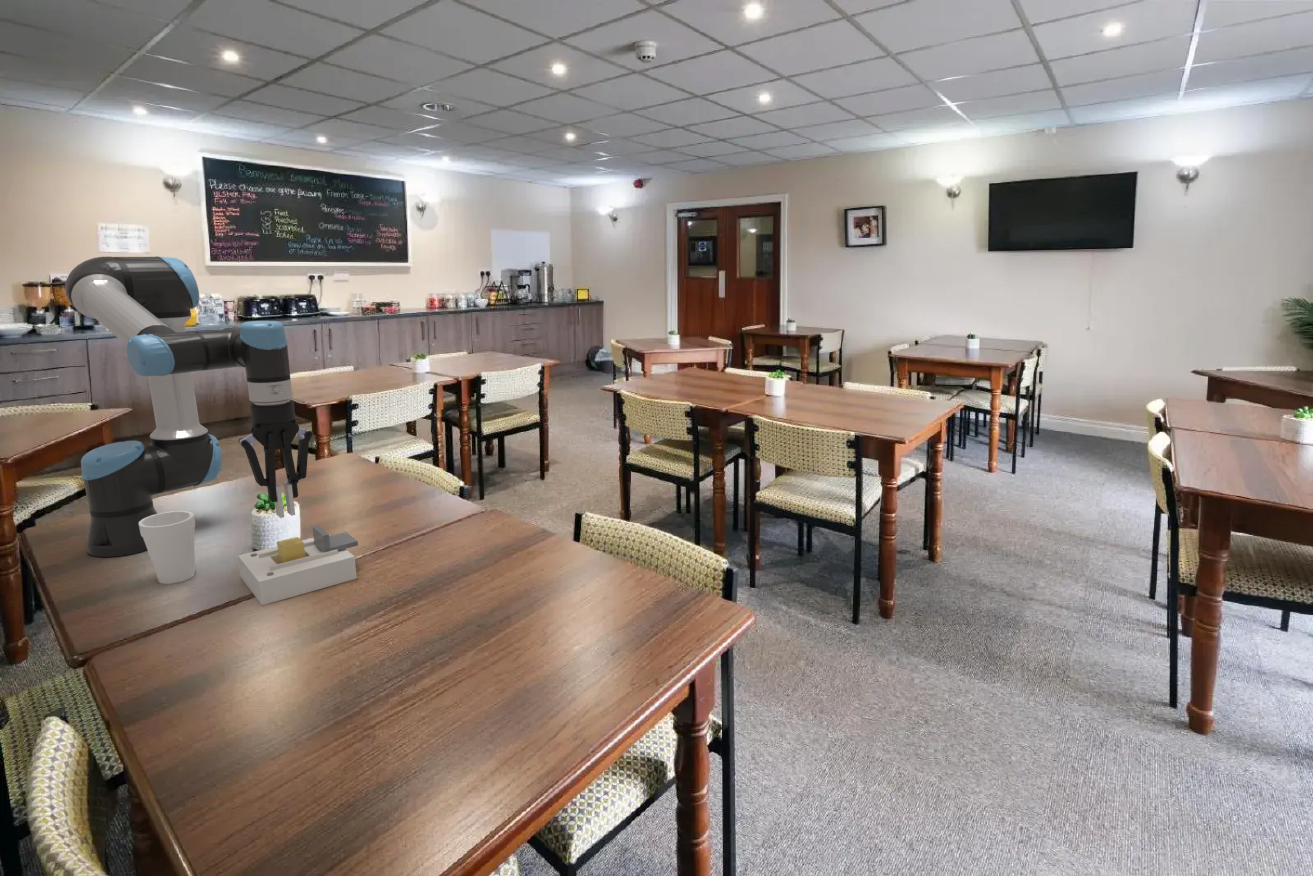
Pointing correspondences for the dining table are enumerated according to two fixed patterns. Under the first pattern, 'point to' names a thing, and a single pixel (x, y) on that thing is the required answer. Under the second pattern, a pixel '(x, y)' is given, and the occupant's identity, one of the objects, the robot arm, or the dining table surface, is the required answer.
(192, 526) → the foam cup
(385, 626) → the dining table surface
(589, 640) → the dining table surface
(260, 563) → the socket
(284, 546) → the plug
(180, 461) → the robot arm
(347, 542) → the shutter
